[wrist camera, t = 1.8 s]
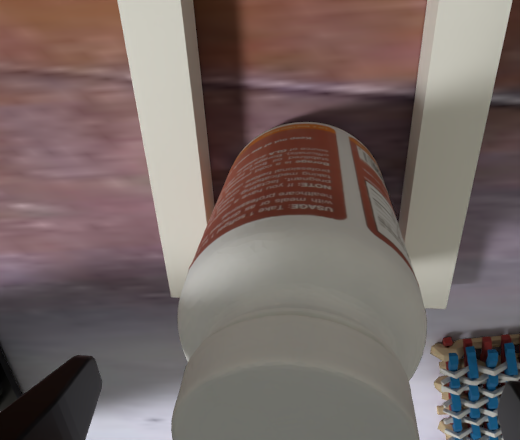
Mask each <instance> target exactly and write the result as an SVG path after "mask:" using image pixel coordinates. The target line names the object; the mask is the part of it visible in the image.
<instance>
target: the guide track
mask: <svg viewBox="0 0 520 440" xmlns="http://www.w3.org/2000/svg"><path fill="white" fill-rule="evenodd" d="M511 5H512V0H427V7H426V15H425V23H424V30H423V38H422V46H421V53H420V61H419V69H418V76H417V84H416V92H415V99H414V107H413V115H412V122H411V130H410V138H409V145H408V153H407V161H406V168H405V176H404V184H403V191H402V199H401V207H400V214H399V222H398V224H399V228H400V231H401V234H402V237H403V240H404V244H405V247H406V250H407V253H408V255H409V258H410V261H411V264H412V267H413V270H414V273H415V276H416V279H417V281H418V284H419V288H420V291H421V295H422V299H423V303H424V307H425V308H431V309H446V306H447V301H448V297H449V292H450V288H451V283H452V278H453V274H454V269H455V264H456V260H457V255H458V251H459V246H460V241H461V237H462V232H463V227H464V223H465V218H466V213H467V209H468V204H469V200H470V195H471V190H472V186H473V181H474V176H475V172H476V167H477V162H478V158H479V153H480V149H481V144H482V139H483V135H484V130H485V125H486V121H487V116H488V112H489V107H490V102H491V98H492V93H493V88H494V84H495V79H496V74H497V70H498V65H499V61H500V56H501V51H502V47H503V42H504V37H505V33H506V28H507V23H508V19H509V14H510V10H511ZM118 6H119V11H120V17H121V22H122V28H123V34H124V39H125V45H126V50H127V56H128V61H129V67H130V72H131V78H132V83H133V89H134V94H135V100H136V105H137V111H138V116H139V122H140V127H141V133H142V139H143V144H144V150H145V155H146V161H147V166H148V172H149V177H150V183H151V188H152V194H153V199H154V205H155V210H156V216H157V221H158V227H159V233H160V238H161V244H162V249H163V255H164V260H165V266H166V271H167V277H168V282H169V288H170V293H171V297H175V298H180V296H181V292H182V289H183V286H184V282H185V279H186V277H187V274H188V270H189V267H190V265H191V263H192V261H193V259H194V256H195V254H196V251H197V249H198V246H199V244H200V242H201V239H202V237H203V234H204V231H205V229H206V227H207V224H208V222H209V220H210V217H211V215H212V212H213V210H214V207H215V205H214V195H213V186H212V176H211V167H210V157H209V148H208V138H207V129H206V119H205V110H204V100H203V91H202V81H201V72H200V62H199V52H198V43H197V33H196V24H195V14H194V5H193V0H118Z"/></svg>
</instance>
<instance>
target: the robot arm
mask: <svg viewBox="0 0 520 440" xmlns="http://www.w3.org/2000/svg"><path fill="white" fill-rule="evenodd" d="M101 388H102V380H101V376H100V373H99V370H98V367H97V364H96V361H95V359H94V358H93V357H92V356H84V355H77V356H74V357H72V358H71V359H70V360H68V361H67V362H66V363H64V364H63V365H62V366H60V367H59V368H58V369H56V370H55V371H54V372H52V373H51V374H50V375H48V376H47V377H46V378H45V379H43V380H42V381H41V382H39V383H38V384H37V385H35V386H34V387H33V388H31V389H30V390H29V391H27V392H26V393H25V394H23V395H22V394H21V392H20V389H19V387H18V385H17V383H16V381H15V378H14V376H13V374H12V372H11V370H10V368H9V365H8V363H7V361H6V359H5V357H4V354H3V352H2V350H1V348H0V411H1V412H0V440H85V439H86V436H87V433H88V429H89V426H90V423H91V420H92V417H93V414H94V411H95V408H96V405H97V401H98V398H99V395H100V392H101ZM497 414H498V420H499V424H500V428H501V432H502V436H503V440H520V381H512V380H511V381H508V382H506V384H505V386H504V389H503V392H502V395H501V398H500V401H499V404H498V408H497Z"/></svg>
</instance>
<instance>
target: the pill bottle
mask: <svg viewBox="0 0 520 440" xmlns="http://www.w3.org/2000/svg"><path fill="white" fill-rule="evenodd" d="M177 315H178V321H177V323H178V332H179V338H180V342H181V345H182V348H183V351H184V354H185V356H186V359H187V361H188V364H187V366H186V368H185V371H184V374H183V379H182V383H181V387H180V391H179V394H178V398H177V401H176V404H175V407H174V411H173V416H172V428H171V431H172V438H173V440H419V434H418V429H417V423H416V417H415V411H414V405H413V401H412V396H411V389H410V385H409V380H410V379H411V378H412V376H413V374H414V373H415V371H416V369H417V367H418V365H419V362H420V360H421V358H422V355H423V351H424V347H425V343H426V333H427V320H426V312H425V307H424V303H423V299H422V295H421V291H420V288H419V284H418V281H417V279H416V276H415V273H414V270H413V267H412V264H411V261H410V258H409V255H408V253H407V250H406V247H405V244H404V240H403V237H402V234H401V231H400V228H399V224H398V221H397V219H396V215H395V213H394V210H393V207H392V204H391V201H390V198H389V195H388V192H387V189H386V186H385V183H384V180H383V177H382V174H381V172H380V169H379V166H378V164H377V162H376V161H375V159H374V157H373V156H372V154H371V153H370V152H369V150H368V149H367V148H366V147H365V146H364V145H363V144H362V143H361V142H360V141H359V140H357V139H356V138H355V137H353V136H352V135H351V134H349V133H347V132H345V131H344V130H341V129H339V128H337V127H334V126H331V125H327V124H323V123H316V122H295V123H289V124H284V125H280V126H277V127H275V128H272V129H270V130H268V131H265V132H264V133H262V134H260V135H259V136H257V137H256V138H255V139H253V140H252V141H251V142H250V143H249V144H248V145H247V146H246V147H245V148H244V149H243V150H242V151H241V152H240V154H239V155H238V157H237V158H236V160H235V162H234V164H233V165H232V167H231V169H230V171H229V174H228V176H227V179H226V181H225V184H224V186H223V188H222V191H221V193H220V195H219V198H218V200H217V203H216V205H215V207H214V210H213V212H212V215H211V217H210V220H209V222H208V224H207V227H206V229H205V231H204V234H203V237H202V239H201V242H200V244H199V246H198V249H197V251H196V254H195V256H194V259H193V261H192V263H191V265H190V267H189V270H188V274H187V277H186V279H185V282H184V286H183V289H182V292H181V296H180V299H179V306H178V313H177Z"/></svg>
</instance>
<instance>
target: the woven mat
mask: <svg viewBox="0 0 520 440" xmlns="http://www.w3.org/2000/svg"><path fill="white" fill-rule="evenodd" d="M517 345H519V353H515V347H514V346H517ZM495 347H501V355H498V352H497V351H496V349H492V348H495ZM475 349H482V352H481V354H480V360H477V359H476V352H475ZM430 354H432V355H434V356H435V357H437V358H439V359H440V360H442V362H439V367H440V373H441V374H444V375H446V376H441V377H438V379H437V380H436V381H435V382H434V385H435V388H436V389H437V390H438V391H440V392H441V393H442V399H445V400H447V401H446V402H444V403H443V406H437V414H438V415H443V414H448V415H450V417H448V418H444V420H441V421H440V423H439V426H438V429H439V430H440V431H442V432H443V433H444V434H446V440H503V436H502V432H501V428H500V427H499V428H498V425H500V424H499V420H498V414H497V408H498V404H499V401H500V398H501V397H500V396H501V395H502V392H503V389H504V386H505V384H506V382H508V381H511V380H512V381H520V334H513V335H509V334H507V335H501V336H492V337H481V338H470V339H460V340H456V341H454V342H452V339H451V337H446V338H443V344H441V343H436V344H434V345H433V346H432V347H431V353H430ZM463 355H464V358H463V359H460V358H461V357H462V356H463ZM457 369H460V370H457ZM498 383H501V386H499V387H496V386H497V385H498ZM460 384H462V385H460ZM478 384H483V388H481V387H479V386H478ZM480 413H483V414H482V415H481V416H480ZM465 415H467V417H464V416H465ZM480 426H484V428H483V427H480ZM496 429H497V430H496Z"/></svg>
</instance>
